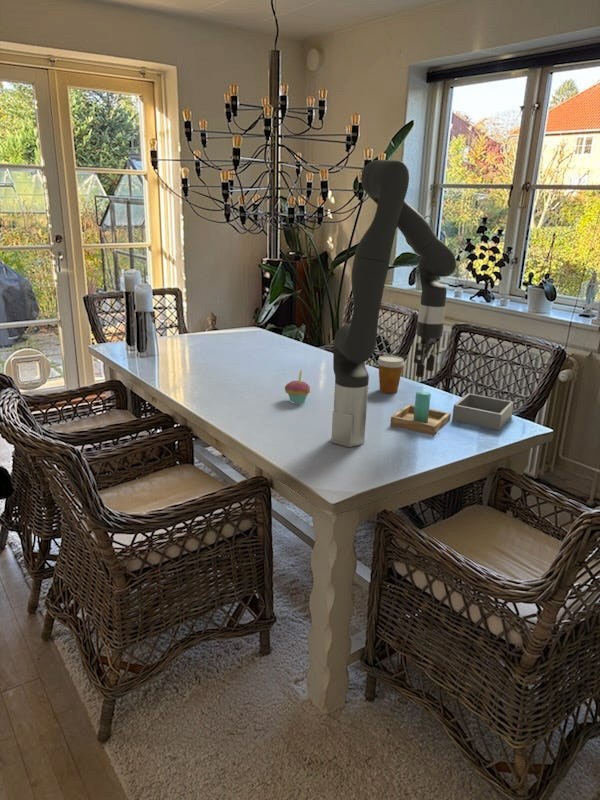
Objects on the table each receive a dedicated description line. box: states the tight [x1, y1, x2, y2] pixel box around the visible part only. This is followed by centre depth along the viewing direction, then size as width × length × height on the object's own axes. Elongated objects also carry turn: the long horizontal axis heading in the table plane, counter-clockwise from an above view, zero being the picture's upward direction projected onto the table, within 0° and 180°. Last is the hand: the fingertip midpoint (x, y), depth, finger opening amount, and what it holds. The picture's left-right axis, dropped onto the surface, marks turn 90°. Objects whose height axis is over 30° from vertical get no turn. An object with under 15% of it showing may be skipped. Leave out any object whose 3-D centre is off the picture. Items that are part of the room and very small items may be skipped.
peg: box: [413, 390, 432, 423], centre depth 186 cm, size 4×4×9 cm
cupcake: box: [284, 370, 311, 404], centre depth 203 cm, size 9×8×12 cm
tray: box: [389, 404, 452, 437], centre depth 188 cm, size 14×14×3 cm
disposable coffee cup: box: [376, 355, 405, 394], centre depth 218 cm, size 10×10×12 cm
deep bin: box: [451, 392, 515, 431], centre depth 191 cm, size 15×15×6 cm
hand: (424, 373), depth 183 cm, fingers open, 8 cm apart
